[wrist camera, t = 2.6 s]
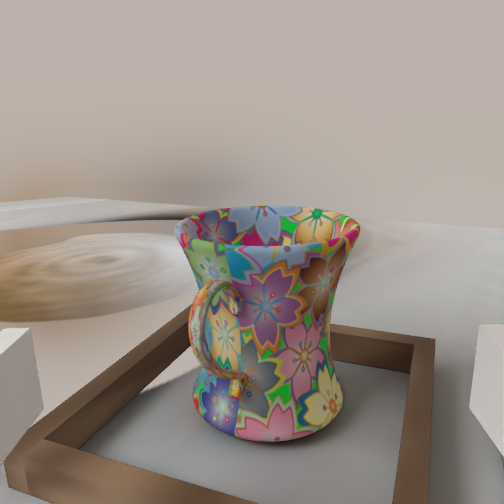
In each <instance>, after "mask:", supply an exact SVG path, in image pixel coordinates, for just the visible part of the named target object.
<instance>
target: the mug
mask: <svg viewBox="0 0 504 504" xmlns="http://www.w3.org/2000/svg"><path fill="white" fill-rule="evenodd" d="M359 234H360V226H359V224H358V223H357V222H356V221H355V220H354V219H352V218H351V217H349V216H346V215H343V214H340V213H336V212H332V211H327V210H321V209H315V208H306V207H294V206H247V207H235V208H226V209H218V210H213V211H207V212H203V213H199V214H196V215H192V216H190V217H187V218H185V219H183V220H182V221H180V222H179V223H178V224H177V225H176V228H175V235H176V238H177V240H178V241H179V243H180V245H181V247H182V249H183V251H184V253H185V255H186V257H187V259H188V261H189V263H190V266H191V268H192V271H193V273H194V276H195V279H196V282H197V284H198V288H199V292H198V293H197V295H196V297H195V299H194V301H193V304H192V306H191V310H190V315H189V323H188V328H189V338H190V343H191V346H192V349H193V352H194V354H195V356H196V358H197V359H198V361H199V362H200V364H201V365H202V368H201V371H200V374H199V376H198V378H197V380H196V382H195V384H194V388H193V401H194V403H195V406H196V409H197V411H198V412H199V414H200V415H201V416H202V417H203V418H204V419H205V420H206V421H207V422H208V423H209V424H210V425H212V426H213V427H215V428H216V429H218V430H220V431H222V432H224V433H226V434H229V435H232V436H235V437H238V438H242V439H247V440H253V441H266V442H272V441H285V440H292V439H296V438H300V437H303V436H307V435H309V434H312V433H314V432H316V431H318V430H320V429H321V428H323V427H325V426H326V425H327V424H328V423H330V422H331V421H332V420H333V419H334V418H335V417H336V416H337V414H338V413H339V411H340V409H341V407H342V404H343V401H344V389H343V385H342V383H341V381H340V379H339V377H338V375H337V373H336V370H335V367H334V364H333V360H332V355H331V347H330V319H331V311H332V305H333V300H334V296H335V292H336V288H337V284H338V281H339V278H340V275H341V272H342V270H343V267H344V265H345V262H346V260H347V258H348V256H349V254H350V252H351V249H352V247H353V245H354V244H355V242H356V240H357V238H358V236H359Z"/></svg>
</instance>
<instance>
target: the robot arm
mask: <svg viewBox="0 0 504 504" xmlns="http://www.w3.org/2000/svg"><path fill="white" fill-rule="evenodd" d="M469 408H470V410H471V411H472V412H473V414H474V415H475V417H476V418H477V420H478V421H479V422H480V424H481V425H482V427H483V428H484V430H485V431H486V432H487V434H488V435H489V437H490V438H491V440H492V441H493V442H494V444H495V445H496V447H497V448H498V450H499V451H500V452H501V454H502V455H503V457H504V324H479V331H478V339H477V347H476V355H475V364H474V372H473V380H472V388H471V397H470V405H469ZM42 410H43V402H42V396H41V389H40V383H39V377H38V371H37V366H36V359H35V354H34V347H33V341H32V336H31V329H30V328H5V329H3V330H2V331H1V332H0V465H1V464H2V463H3V461H4V460H5V459H6V457H7V456H8V455H9V453H10V452H11V451H12V450H13V448H14V447H15V446H16V444H17V443H18V442H19V440H20V439H21V438H22V436H23V435H24V434H25V432H26V431H27V430H28V429H29V427H30V426H31V425H32V423H33V422H34V420H35V419H36V418H37V417H38V415H39V414H40V413H41V411H42Z"/></svg>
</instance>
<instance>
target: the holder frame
mask: <svg viewBox="0 0 504 504" xmlns="http://www.w3.org/2000/svg"><path fill="white" fill-rule="evenodd" d="M191 306H192V305H190V306H189V307H188V308H186V309H185V310H184V311H182V312H181V313H180V314H178V315H177V316H176V317H175V318H173V319H172V320H171V321H169V322H168V323H167V324H165V325H164V326H163V327H161V328H160V329H159V330H157V331H156V332H155V333H154V334H152V335H151V336H150V337H148V338H147V339H146V340H144V341H143V342H142V343H140V344H139V345H138V346H136V347H135V348H134V349H133V350H131V351H130V352H129V353H127V354H126V355H125V356H123V357H122V358H121V359H119V360H118V361H117V362H116V363H114V364H113V365H112V366H111V367H109V368H108V369H106V370H105V371H104V372H103V373H101V374H100V375H99V376H97V377H96V378H95V379H93V380H92V381H91V382H89V383H88V384H87V385H85V386H84V387H83V388H81V389H80V390H79V391H78V392H76V393H75V394H74V395H72V396H71V397H70V398H68V399H67V400H66V401H65V402H63V403H62V404H60V405H59V406H58V407H57V408H55V409H54V410H53V411H51V412H50V413H49V414H47V415H46V416H45V417H43V418H42V419H41V420H39V421H38V422H37V423H36V424H34V425H33V426H32V427H30V428H29V429H28V430H27V431H26V432H25V434H24V435H23V436H22V438H21V439H20V440H19V442H18V443H17V444H16V446H15V447H14V448H13V450H12V451H11V452H10V453H9V455H8V456H7V457H6V459H5V460H4V466H5V471H6V476H7V481H8V486H9V487H10V488H13V489H15V490H18V491H21V492H24V493H26V494H29V495H32V496H35V497H38V498H40V499H43V500H46V501H49V502H51V503H54V504H257V503H254V502H251V501H248V500H244V499H241V498H238V497H234V496H231V495H228V494H224V493H221V492H218V491H214V490H211V489H208V488H204V487H201V486H198V485H194V484H191V483H188V482H184V481H181V480H178V479H175V478H171V477H168V476H165V475H161V474H158V473H155V472H151V471H148V470H145V469H141V468H138V467H135V466H131V465H128V464H125V463H121V462H118V461H115V460H112V459H108V458H105V457H102V456H98V455H95V454H92V453H88V452H85V451H82V450H78V449H79V448H80V447H81V446H82V445H83V444H84V443H85V442H86V441H88V440H89V439H90V438H91V437H92V436H93V435H94V434H95V433H96V432H97V431H98V430H99V429H101V428H102V427H103V426H104V425H105V424H106V423H107V422H108V421H109V420H110V419H111V418H113V417H114V416H115V415H116V414H117V413H118V412H119V411H120V410H121V409H122V408H123V407H124V406H126V405H127V404H128V403H129V402H130V401H131V400H132V399H133V398H134V397H135V396H136V395H138V394H139V393H140V392H141V391H142V390H143V389H144V388H145V387H146V386H147V385H148V384H149V383H150V382H152V381H153V380H154V379H155V378H156V377H157V376H158V375H159V374H160V373H161V372H162V371H164V370H165V369H166V368H167V367H168V366H169V365H170V364H171V363H172V362H173V361H174V360H175V359H176V358H178V357H179V356H180V355H181V354H182V353H183V352H184V351H185V350H186V349H187V348H189V347H190V346H191V343H190V338H189V328H188V323H189V315H190V310H191ZM330 347H331V355H332V359H333V360H339V361H345V362H351V363H356V364H362V365H368V366H374V367H379V368H385V369H391V370H397V371H402V372H408V373H410V379H409V386H408V393H407V401H406V408H405V415H404V423H403V430H402V437H401V444H400V452H399V459H398V466H397V473H396V481H395V488H394V495H393V502H392V504H427V499H428V478H429V458H430V438H431V417H432V397H433V376H434V356H435V339H431V338H424V337H417V336H410V335H403V334H397V333H390V332H383V331H376V330H369V329H362V328H356V327H349V326H342V325H335V324H330Z"/></svg>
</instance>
